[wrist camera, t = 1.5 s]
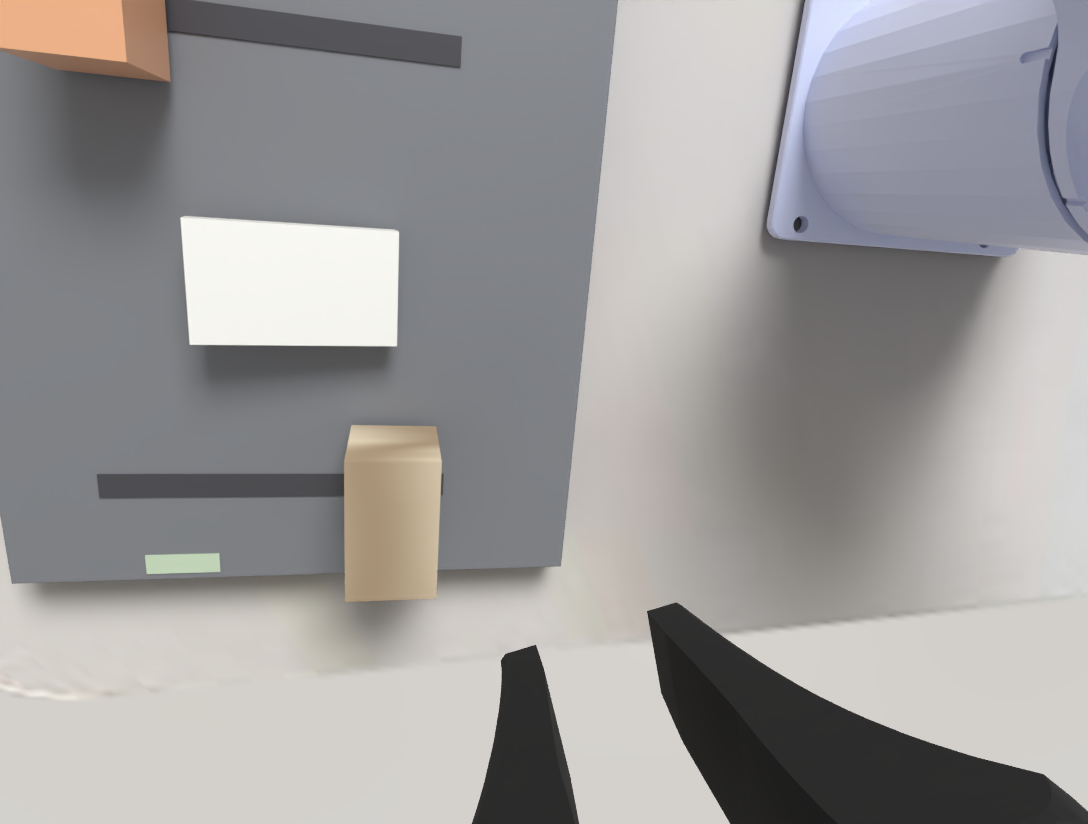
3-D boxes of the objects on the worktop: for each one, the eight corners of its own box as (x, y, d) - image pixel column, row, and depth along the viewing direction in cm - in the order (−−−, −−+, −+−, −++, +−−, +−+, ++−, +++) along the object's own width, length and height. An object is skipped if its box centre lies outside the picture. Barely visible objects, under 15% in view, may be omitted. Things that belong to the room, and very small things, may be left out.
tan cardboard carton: (435, 426, 20) (441, 462, 17) (431, 547, 21) (436, 598, 19) (351, 424, 20) (344, 461, 17) (351, 549, 21) (344, 602, 18)
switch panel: (611, -82, 19) (633, -111, 17) (551, 544, 24) (563, 572, 22) (-81, -207, 15) (-144, -259, 13) (38, 556, 21) (3, 591, 19)
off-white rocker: (394, 229, 18) (399, 231, 18) (393, 340, 19) (396, 346, 18) (184, 215, 17) (180, 217, 16) (193, 337, 17) (189, 344, 17)
